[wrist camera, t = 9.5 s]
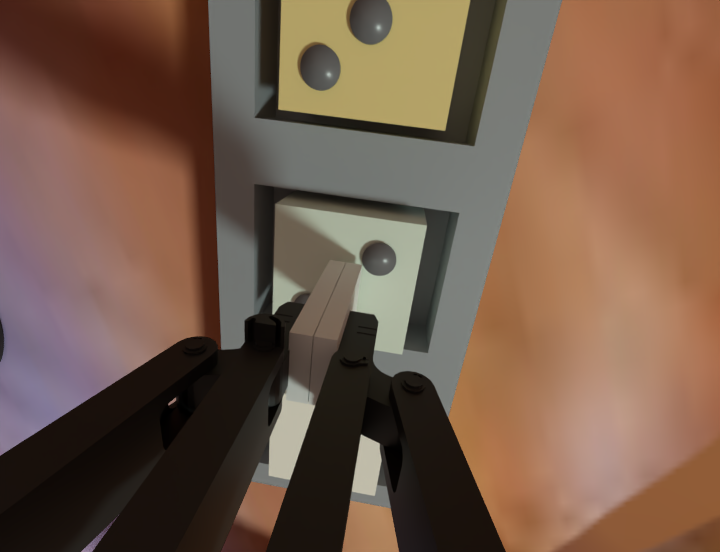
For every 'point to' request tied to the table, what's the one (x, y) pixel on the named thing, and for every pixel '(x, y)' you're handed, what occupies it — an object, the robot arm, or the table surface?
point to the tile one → (291, 437)
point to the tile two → (351, 254)
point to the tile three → (371, 59)
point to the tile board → (374, 175)
